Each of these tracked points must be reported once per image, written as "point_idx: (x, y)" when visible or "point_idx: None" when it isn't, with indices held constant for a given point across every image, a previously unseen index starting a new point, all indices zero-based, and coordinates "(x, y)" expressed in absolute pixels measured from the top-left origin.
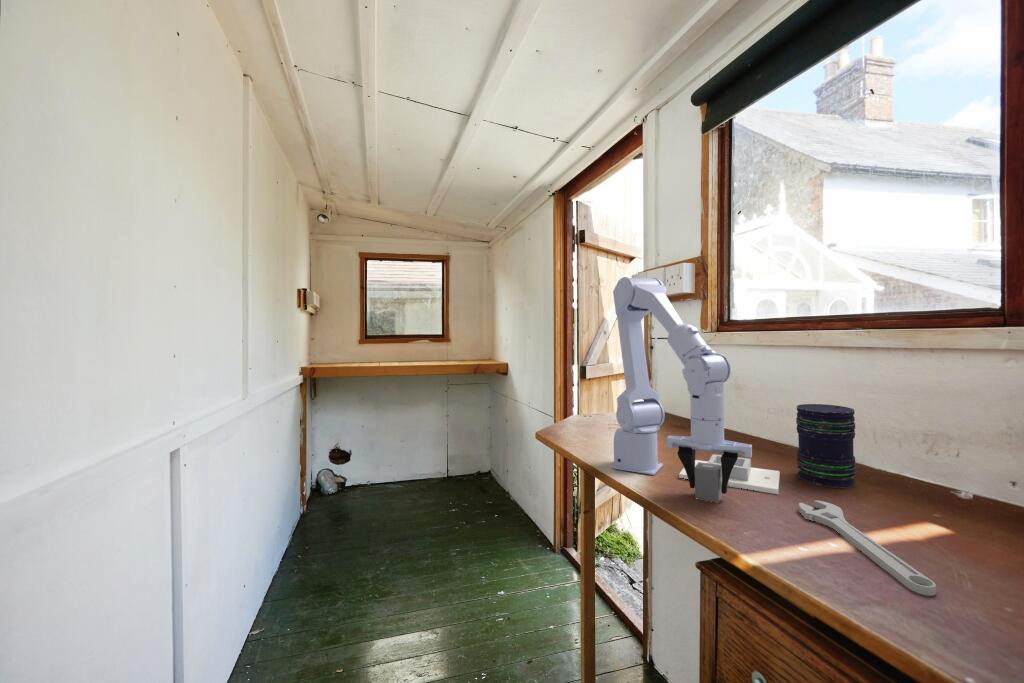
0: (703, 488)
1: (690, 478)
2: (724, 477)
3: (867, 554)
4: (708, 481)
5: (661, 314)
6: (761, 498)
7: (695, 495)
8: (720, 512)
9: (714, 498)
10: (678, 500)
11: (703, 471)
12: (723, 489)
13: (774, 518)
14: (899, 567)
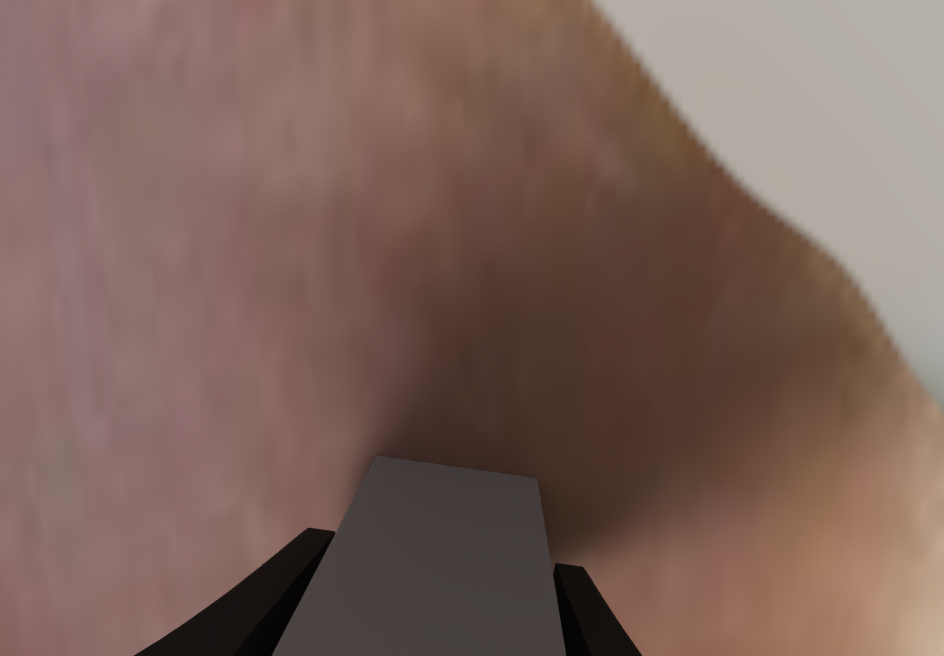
0: (472, 530)
1: (600, 624)
2: (226, 627)
3: None
4: (415, 575)
5: None
6: (130, 633)
7: (537, 495)
8: (354, 296)
9: (396, 477)
10: (659, 413)
11: None
12: (304, 545)
13: (25, 329)
14: None
